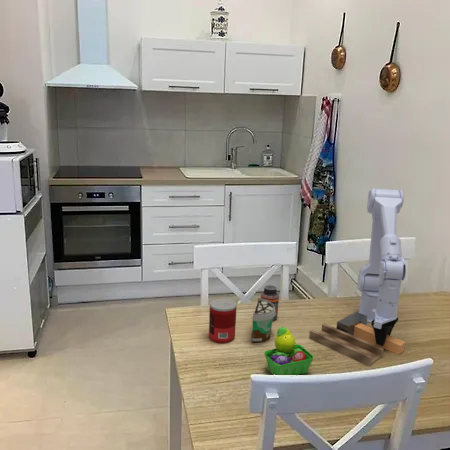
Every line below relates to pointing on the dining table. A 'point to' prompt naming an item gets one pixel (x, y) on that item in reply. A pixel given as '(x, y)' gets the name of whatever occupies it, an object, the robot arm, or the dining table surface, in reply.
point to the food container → (262, 321)
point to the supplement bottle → (271, 297)
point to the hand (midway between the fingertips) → (382, 341)
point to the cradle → (347, 344)
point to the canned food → (222, 320)
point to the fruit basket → (287, 355)
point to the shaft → (369, 336)
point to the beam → (351, 322)
